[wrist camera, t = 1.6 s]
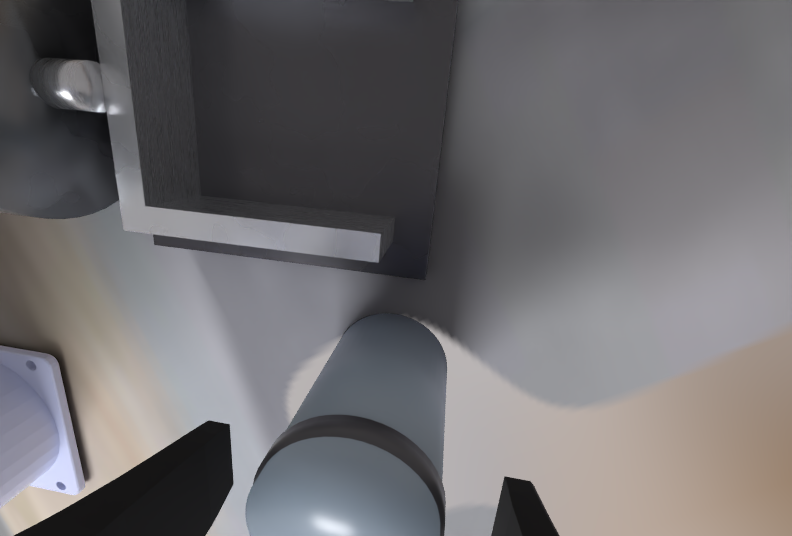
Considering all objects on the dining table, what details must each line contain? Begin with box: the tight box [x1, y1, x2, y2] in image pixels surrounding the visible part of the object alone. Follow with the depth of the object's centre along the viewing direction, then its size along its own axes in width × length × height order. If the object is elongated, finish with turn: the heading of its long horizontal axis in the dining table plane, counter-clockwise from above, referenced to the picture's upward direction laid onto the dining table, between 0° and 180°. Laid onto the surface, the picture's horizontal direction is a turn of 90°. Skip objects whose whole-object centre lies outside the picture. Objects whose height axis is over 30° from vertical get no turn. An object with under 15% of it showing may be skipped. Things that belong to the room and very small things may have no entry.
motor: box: [0, 0, 458, 280], centre depth 10 cm, size 19×10×7 cm, turn 85°
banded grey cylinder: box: [246, 313, 447, 536], centre depth 12 cm, size 5×5×7 cm
